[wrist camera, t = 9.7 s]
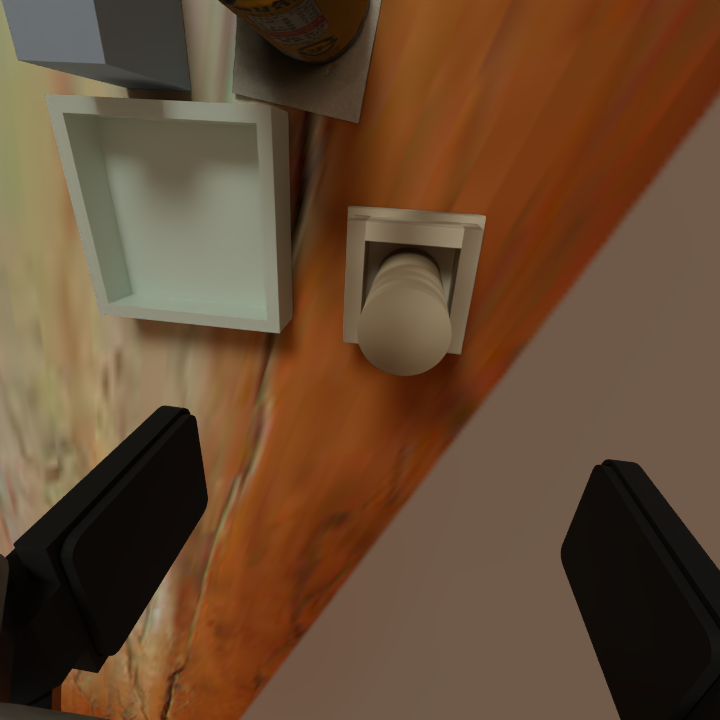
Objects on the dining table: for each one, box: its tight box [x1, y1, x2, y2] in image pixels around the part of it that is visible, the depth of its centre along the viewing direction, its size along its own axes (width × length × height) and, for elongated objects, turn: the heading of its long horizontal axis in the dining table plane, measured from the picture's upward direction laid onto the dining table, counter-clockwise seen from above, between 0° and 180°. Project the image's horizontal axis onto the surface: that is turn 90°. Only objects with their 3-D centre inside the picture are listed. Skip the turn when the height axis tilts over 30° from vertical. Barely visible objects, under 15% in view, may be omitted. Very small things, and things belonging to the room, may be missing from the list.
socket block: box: [343, 205, 486, 354], centre depth 24 cm, size 8×8×4 cm
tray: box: [44, 94, 293, 333], centre depth 25 cm, size 12×12×3 cm
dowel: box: [357, 247, 452, 376], centre depth 21 cm, size 4×4×9 cm
